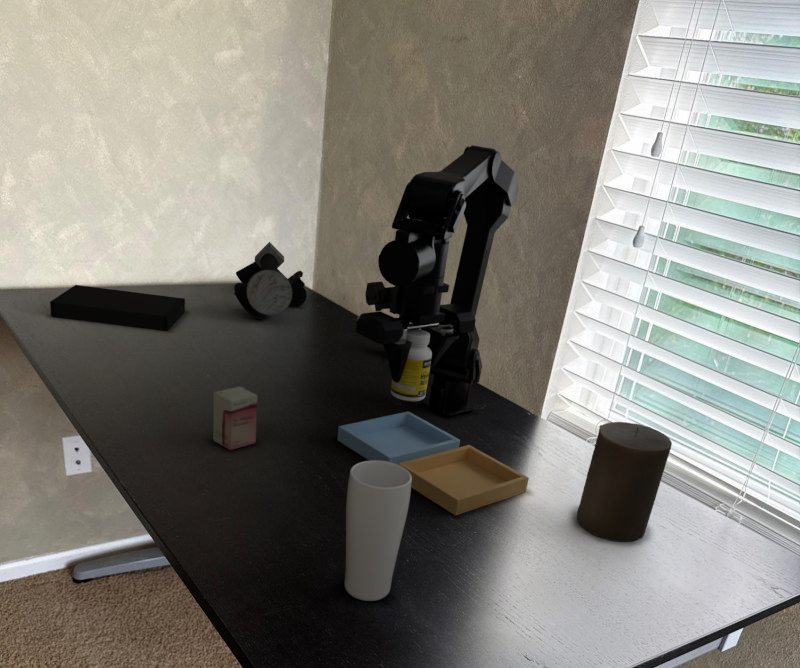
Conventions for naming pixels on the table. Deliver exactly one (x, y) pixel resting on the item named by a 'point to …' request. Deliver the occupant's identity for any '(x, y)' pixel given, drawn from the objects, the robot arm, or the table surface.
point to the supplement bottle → (414, 368)
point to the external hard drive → (118, 307)
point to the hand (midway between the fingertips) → (410, 379)
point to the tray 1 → (396, 438)
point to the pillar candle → (623, 480)
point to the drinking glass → (374, 526)
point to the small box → (234, 417)
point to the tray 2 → (464, 479)
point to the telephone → (268, 285)
